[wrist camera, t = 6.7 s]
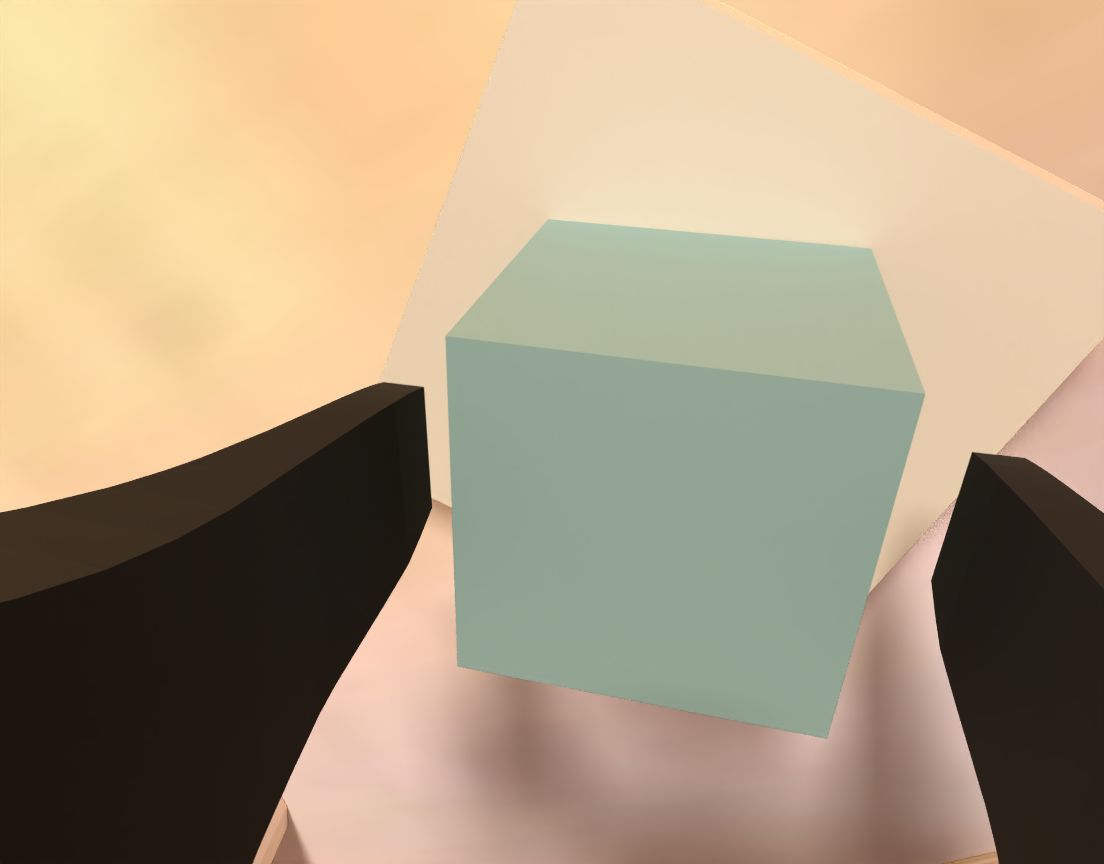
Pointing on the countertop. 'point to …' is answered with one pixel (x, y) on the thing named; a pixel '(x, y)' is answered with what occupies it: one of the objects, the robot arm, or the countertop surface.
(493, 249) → the cream block
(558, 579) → the teal block
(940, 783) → the countertop surface
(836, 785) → the countertop surface
